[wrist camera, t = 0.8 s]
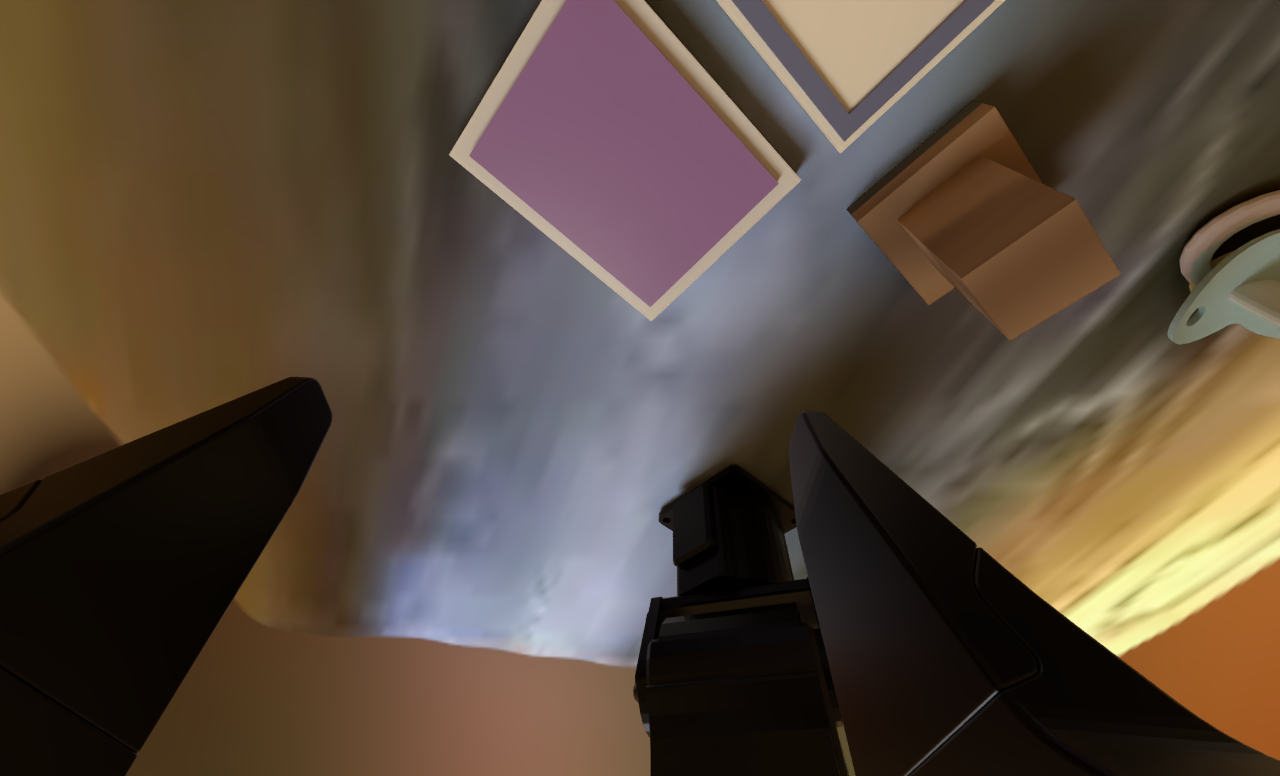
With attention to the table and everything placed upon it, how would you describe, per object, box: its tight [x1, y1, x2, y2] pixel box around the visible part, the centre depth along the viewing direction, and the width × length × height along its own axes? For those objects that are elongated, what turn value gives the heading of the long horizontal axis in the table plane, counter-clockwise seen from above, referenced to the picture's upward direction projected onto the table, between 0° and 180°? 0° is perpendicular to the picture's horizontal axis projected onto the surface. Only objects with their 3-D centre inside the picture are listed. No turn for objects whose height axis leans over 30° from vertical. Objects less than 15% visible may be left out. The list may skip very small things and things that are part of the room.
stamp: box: [847, 100, 1121, 341], centre depth 16 cm, size 5×5×6 cm
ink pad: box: [449, 0, 801, 321], centre depth 18 cm, size 10×8×1 cm
